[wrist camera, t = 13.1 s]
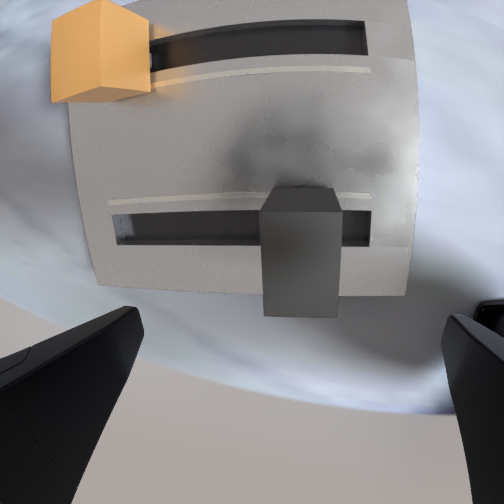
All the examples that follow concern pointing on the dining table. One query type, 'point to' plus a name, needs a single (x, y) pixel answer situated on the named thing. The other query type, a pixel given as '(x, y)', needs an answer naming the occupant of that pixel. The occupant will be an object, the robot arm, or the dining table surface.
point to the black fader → (301, 252)
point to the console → (253, 142)
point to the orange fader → (99, 54)
